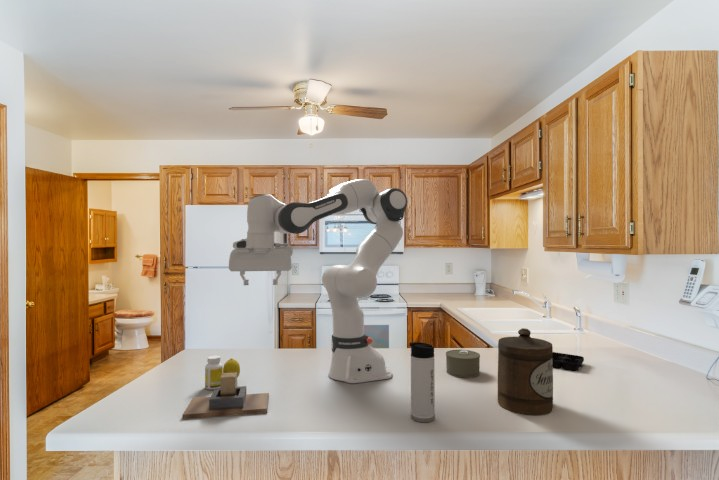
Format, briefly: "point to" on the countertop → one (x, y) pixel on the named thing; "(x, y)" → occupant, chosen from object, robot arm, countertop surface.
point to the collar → (227, 399)
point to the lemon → (231, 367)
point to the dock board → (251, 406)
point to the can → (463, 363)
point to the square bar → (229, 384)
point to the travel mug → (422, 382)
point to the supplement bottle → (213, 373)
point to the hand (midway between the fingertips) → (260, 284)
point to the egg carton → (567, 361)
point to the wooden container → (525, 374)
